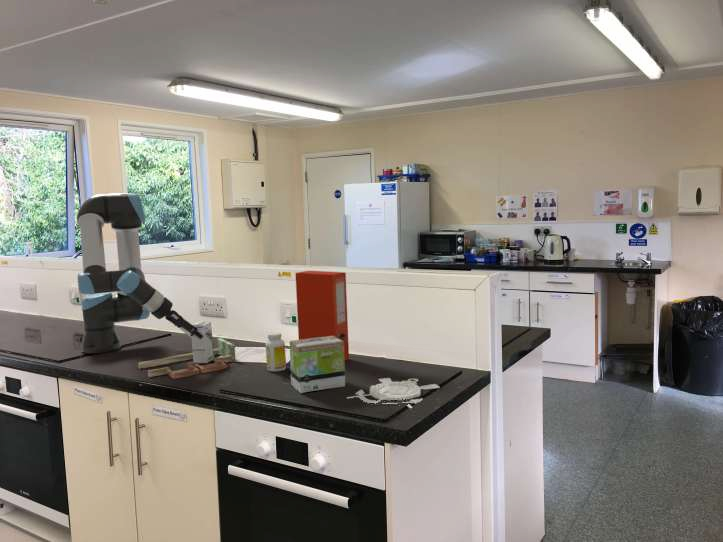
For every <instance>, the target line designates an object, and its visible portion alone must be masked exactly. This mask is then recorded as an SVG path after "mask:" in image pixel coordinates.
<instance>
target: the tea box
mask: <svg viewBox="0 0 723 542" xmlns="http://www.w3.org/2000/svg"><path fill="white" fill-rule="evenodd" d="M289 359H290V360H289V363H290V365H289V366H290V367H289V368H290V385H291V386H292V387H293V388H294V389H295V390H296V391H297V390H298V391H299V392H300V393H299V392H298V391H297V392H298V393H299V394H303V393H307V392H314V391H321V390H326V389H327V390H328V389H337V388H343V387H346V365H345V363H346V360H345V356H344V342H343V341H342V340H340V339H338V338H336V337H335V336H327V337H318V338H310V339H302V340H299V339H296V340H290V341H289Z"/></svg>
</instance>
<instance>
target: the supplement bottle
mask: <svg viewBox="0 0 723 542" xmlns="http://www.w3.org/2000/svg"><path fill="white" fill-rule="evenodd" d="M267 339H268V340H267V341H265V357H266V369H267V371H269V372H274V373H276V372H277V373H278V372H283V371H284V370H286V368H287V362H286V361H287V360H286V344H285V341H284V339H282V332H280V331H278V332H277V331H273V332H269V333H267Z"/></svg>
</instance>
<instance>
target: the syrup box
mask: <svg viewBox="0 0 723 542" xmlns="http://www.w3.org/2000/svg"><path fill="white" fill-rule="evenodd" d="M192 325H193V326H194V327H196V328H197V329H198V330H199V331H200V332H202V333H203V334H204V335H205V336H207V337H208V338H209V339H210V341H209V342H208V343H207V345H204V344H203V343H202V342H200V341H199V340H198V339H196V338H195V337H194V336H192V337H190V338H191V345H192V348H191V350H192V353H193V359H192V360H193V362H197V364H209V363H210V362H211V361H213V360H215V355H214V350H213V349H214V341H213V331H212V328H213V327H212V322H211V321H197V322H196V323H193V324H192Z"/></svg>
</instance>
